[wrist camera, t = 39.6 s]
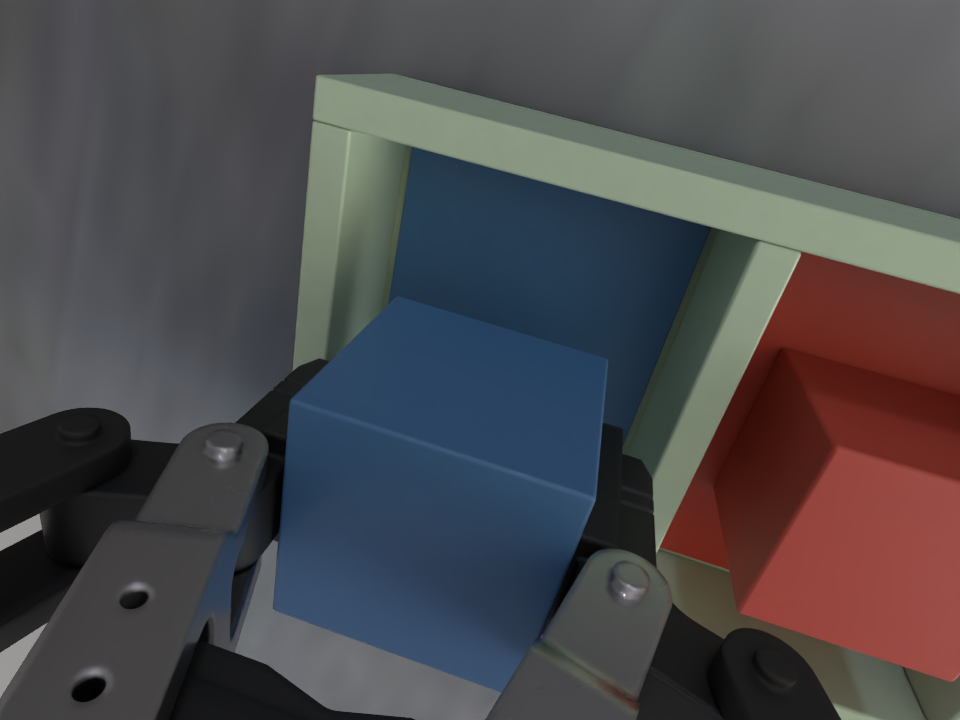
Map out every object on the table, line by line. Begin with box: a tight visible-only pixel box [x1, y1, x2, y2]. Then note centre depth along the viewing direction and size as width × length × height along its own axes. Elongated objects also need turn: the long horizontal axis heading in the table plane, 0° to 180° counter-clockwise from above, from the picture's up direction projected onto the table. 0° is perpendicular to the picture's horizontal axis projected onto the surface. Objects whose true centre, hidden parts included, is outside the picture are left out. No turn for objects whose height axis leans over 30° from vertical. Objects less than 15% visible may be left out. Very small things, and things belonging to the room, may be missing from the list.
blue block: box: [273, 297, 608, 693], centre depth 11 cm, size 4×4×4 cm
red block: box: [714, 348, 960, 682], centre depth 13 cm, size 4×4×4 cm
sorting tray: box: [293, 74, 960, 720], centre depth 15 cm, size 18×12×4 cm, turn 78°
